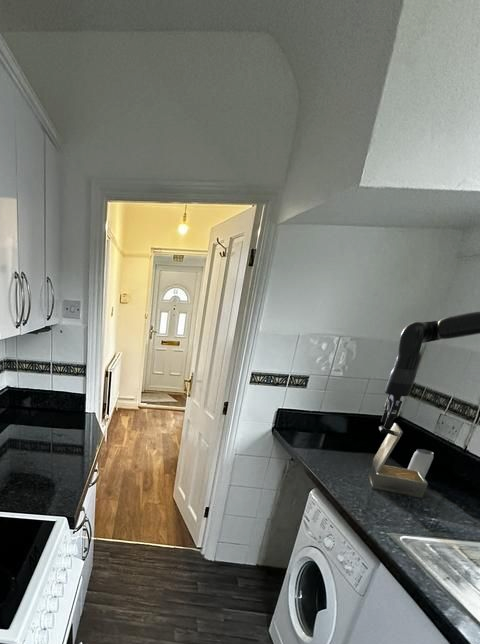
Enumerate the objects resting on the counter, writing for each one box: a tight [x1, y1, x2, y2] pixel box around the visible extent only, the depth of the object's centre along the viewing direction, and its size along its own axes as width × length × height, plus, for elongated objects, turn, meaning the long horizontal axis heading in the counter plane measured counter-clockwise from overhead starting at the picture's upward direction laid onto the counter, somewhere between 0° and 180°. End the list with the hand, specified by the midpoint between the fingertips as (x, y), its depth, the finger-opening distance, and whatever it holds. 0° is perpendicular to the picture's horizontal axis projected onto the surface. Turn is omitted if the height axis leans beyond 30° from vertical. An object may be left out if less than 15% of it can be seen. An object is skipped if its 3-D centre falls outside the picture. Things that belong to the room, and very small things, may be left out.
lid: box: [371, 422, 404, 473], centre depth 158 cm, size 17×14×6 cm
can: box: [407, 448, 435, 479], centre depth 167 cm, size 6×6×12 cm
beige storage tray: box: [367, 463, 429, 499], centre depth 160 cm, size 16×14×6 cm
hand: (385, 424), depth 155 cm, fingers open, 8 cm apart
